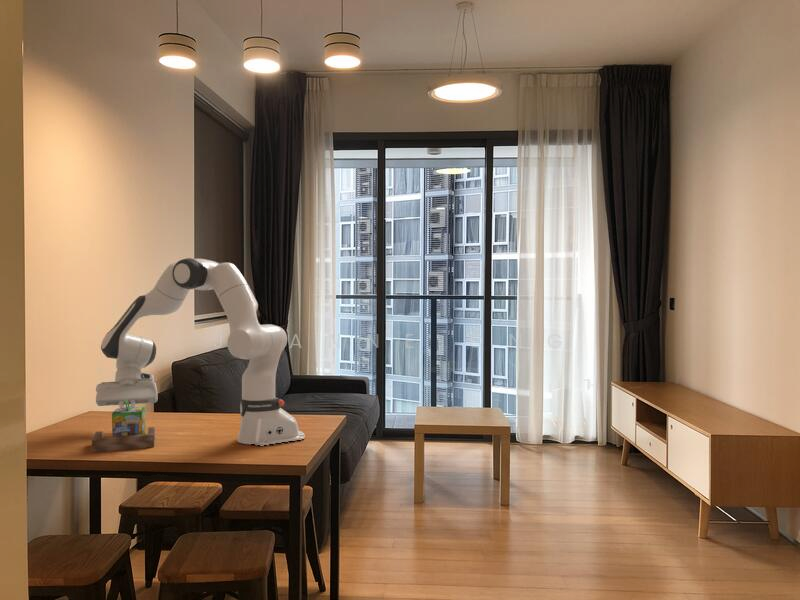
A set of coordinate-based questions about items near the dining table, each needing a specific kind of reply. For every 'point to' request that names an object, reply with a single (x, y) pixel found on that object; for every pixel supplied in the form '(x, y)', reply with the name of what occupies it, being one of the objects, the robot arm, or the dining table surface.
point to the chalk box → (128, 421)
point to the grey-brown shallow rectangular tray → (122, 441)
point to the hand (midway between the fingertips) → (126, 413)
